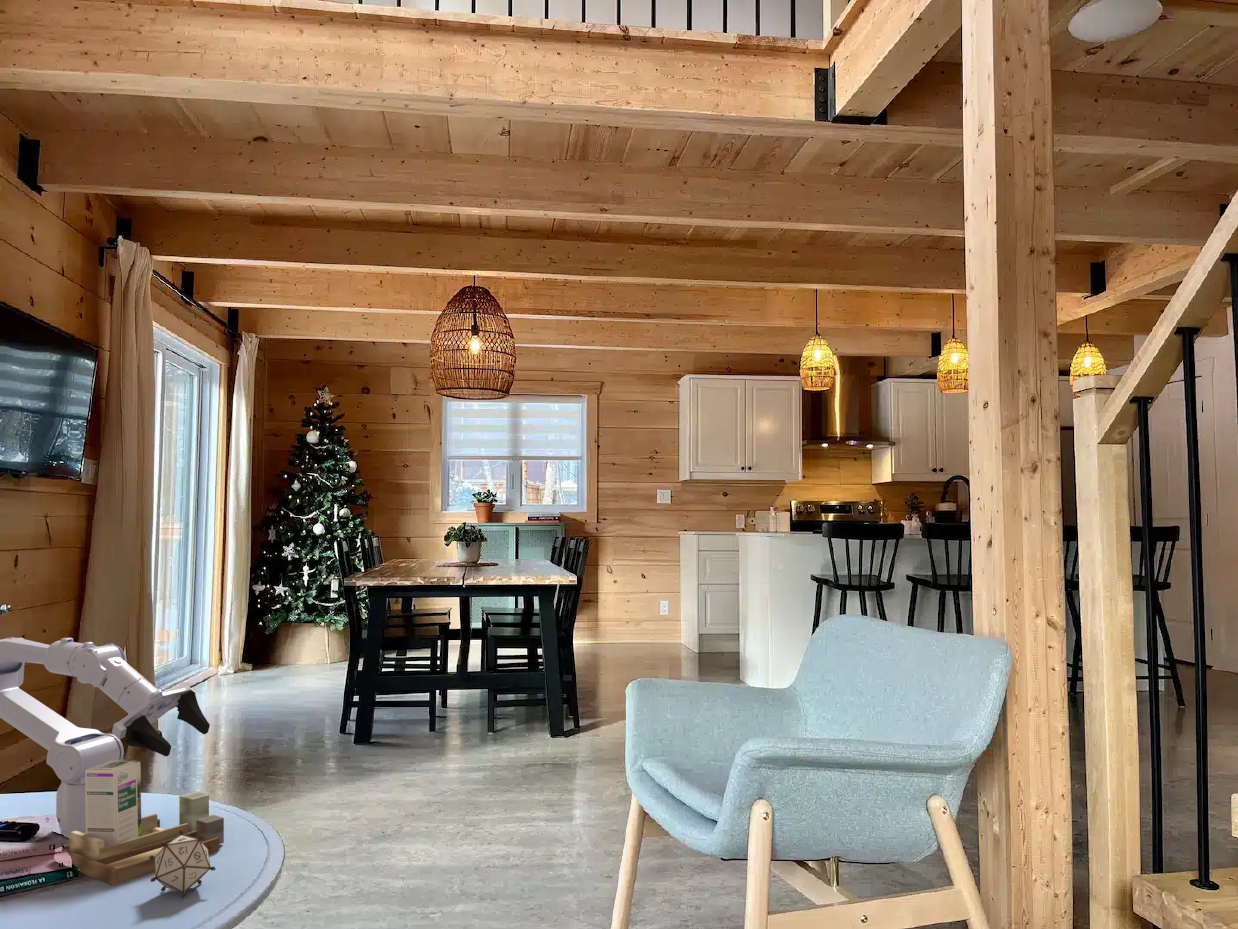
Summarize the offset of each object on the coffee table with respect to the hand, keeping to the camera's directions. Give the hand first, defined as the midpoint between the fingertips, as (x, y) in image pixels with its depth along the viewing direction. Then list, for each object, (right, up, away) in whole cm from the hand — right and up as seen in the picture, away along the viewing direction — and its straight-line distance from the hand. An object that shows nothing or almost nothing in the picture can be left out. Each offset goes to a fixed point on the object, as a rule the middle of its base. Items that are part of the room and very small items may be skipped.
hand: (188, 740), depth 158 cm
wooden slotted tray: (-5, -16, -3) cm, 17 cm away
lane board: (-4, -16, -7) cm, 18 cm away
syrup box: (-9, -16, -7) cm, 20 cm away
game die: (+9, -15, -23) cm, 29 cm away
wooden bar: (+1, -16, -9) cm, 18 cm away
